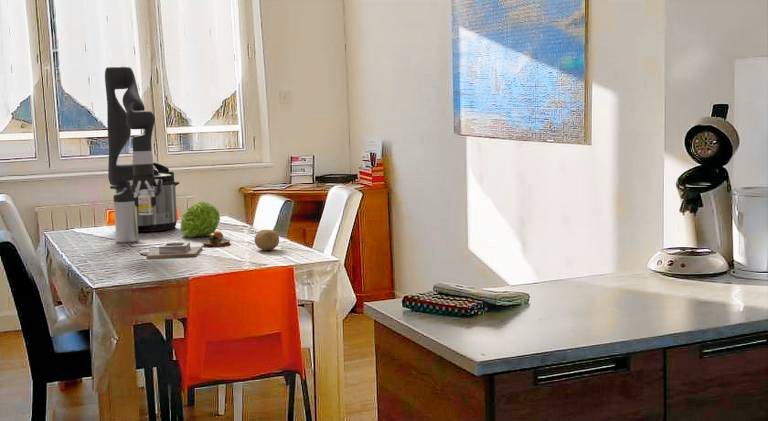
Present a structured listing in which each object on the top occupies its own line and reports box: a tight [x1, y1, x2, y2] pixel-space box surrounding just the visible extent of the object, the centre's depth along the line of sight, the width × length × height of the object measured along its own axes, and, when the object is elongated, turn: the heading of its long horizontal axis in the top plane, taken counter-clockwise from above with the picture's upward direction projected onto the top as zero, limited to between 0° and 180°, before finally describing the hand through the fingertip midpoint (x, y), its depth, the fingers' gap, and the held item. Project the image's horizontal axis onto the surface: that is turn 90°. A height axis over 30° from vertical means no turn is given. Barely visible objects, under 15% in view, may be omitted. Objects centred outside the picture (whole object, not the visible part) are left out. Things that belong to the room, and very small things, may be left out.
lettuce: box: [180, 201, 221, 238], centre depth 395 cm, size 15×25×16 cm
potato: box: [254, 229, 280, 251], centre depth 349 cm, size 10×14×8 cm
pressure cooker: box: [109, 162, 180, 232], centre depth 420 cm, size 30×28×32 cm
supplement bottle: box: [138, 189, 153, 215], centre depth 347 cm, size 5×5×10 cm
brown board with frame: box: [146, 241, 203, 260], centre depth 346 cm, size 18×18×4 cm
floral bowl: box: [201, 228, 231, 248], centre depth 366 cm, size 12×12×8 cm
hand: (145, 206), depth 347 cm, fingers closed on supplement bottle, 5 cm apart
